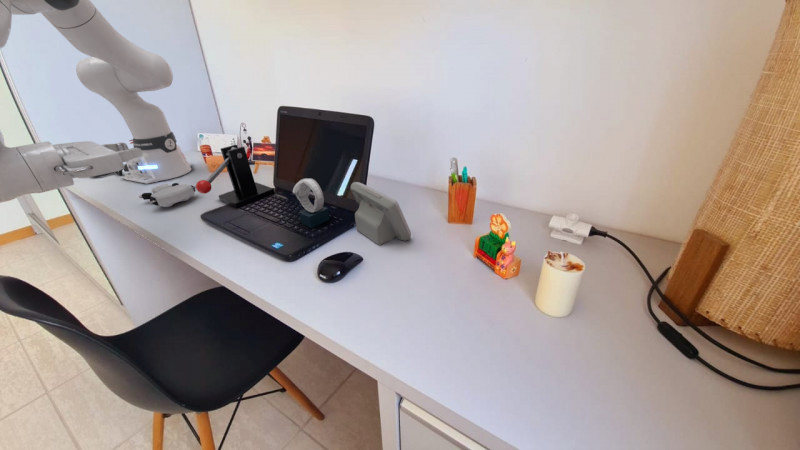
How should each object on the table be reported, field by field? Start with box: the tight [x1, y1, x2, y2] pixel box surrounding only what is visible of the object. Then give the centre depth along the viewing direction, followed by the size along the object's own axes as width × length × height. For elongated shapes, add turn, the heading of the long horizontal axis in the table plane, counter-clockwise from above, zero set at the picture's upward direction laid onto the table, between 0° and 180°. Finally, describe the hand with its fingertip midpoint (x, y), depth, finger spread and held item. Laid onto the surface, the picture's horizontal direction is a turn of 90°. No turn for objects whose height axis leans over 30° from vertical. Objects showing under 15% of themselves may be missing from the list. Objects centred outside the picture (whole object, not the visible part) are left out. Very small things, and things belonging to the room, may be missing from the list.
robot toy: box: [138, 182, 196, 208], centre depth 96 cm, size 12×4×15 cm
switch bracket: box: [218, 144, 276, 209], centre depth 93 cm, size 12×10×15 cm
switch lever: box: [195, 147, 235, 194], centre depth 89 cm, size 15×4×4 cm
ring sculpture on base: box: [292, 177, 331, 229], centre depth 78 cm, size 6×8×11 cm
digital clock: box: [350, 181, 412, 246], centre depth 72 cm, size 16×9×11 cm, turn 27°
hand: (133, 148), depth 73 cm, fingers open, 8 cm apart
